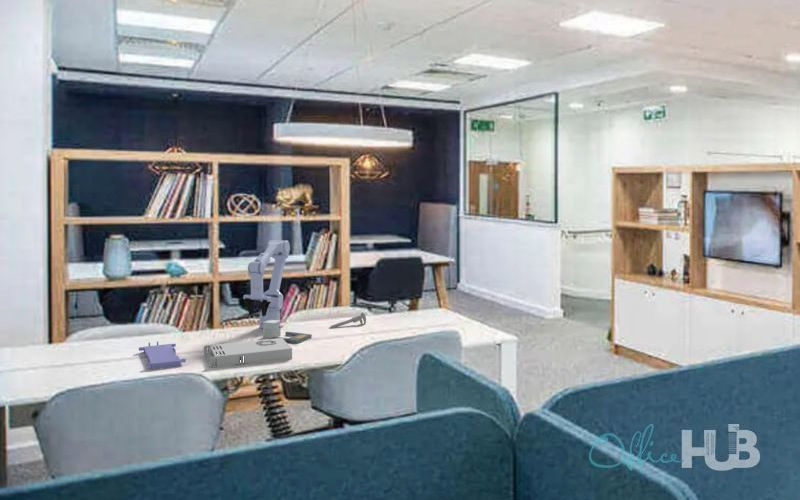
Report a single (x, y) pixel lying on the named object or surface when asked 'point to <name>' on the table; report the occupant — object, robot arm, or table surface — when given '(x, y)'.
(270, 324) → the skincare box
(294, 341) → the u bracket
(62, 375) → the table surface
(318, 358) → the table surface
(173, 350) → the computer part
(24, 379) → the table surface
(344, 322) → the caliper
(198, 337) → the table surface
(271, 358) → the power supply unit
